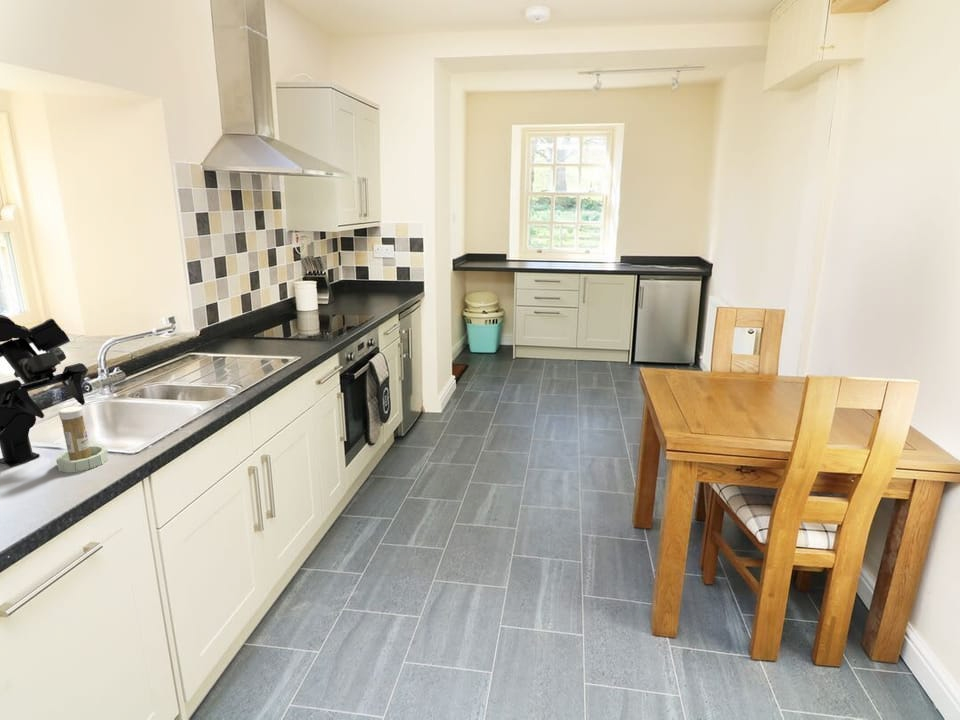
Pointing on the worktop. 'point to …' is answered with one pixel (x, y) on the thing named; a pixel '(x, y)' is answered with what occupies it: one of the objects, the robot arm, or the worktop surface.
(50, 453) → the worktop surface
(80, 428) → the sprinkles bottle
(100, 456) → the dish
